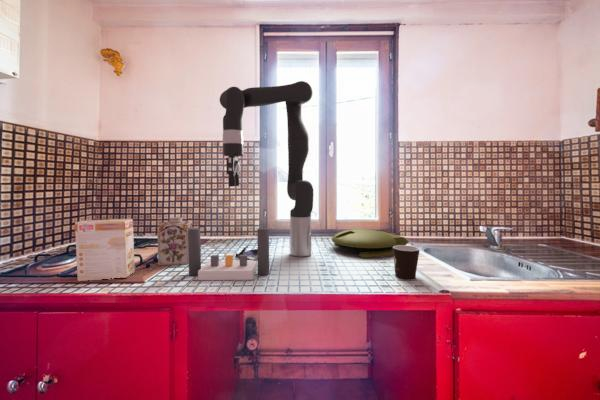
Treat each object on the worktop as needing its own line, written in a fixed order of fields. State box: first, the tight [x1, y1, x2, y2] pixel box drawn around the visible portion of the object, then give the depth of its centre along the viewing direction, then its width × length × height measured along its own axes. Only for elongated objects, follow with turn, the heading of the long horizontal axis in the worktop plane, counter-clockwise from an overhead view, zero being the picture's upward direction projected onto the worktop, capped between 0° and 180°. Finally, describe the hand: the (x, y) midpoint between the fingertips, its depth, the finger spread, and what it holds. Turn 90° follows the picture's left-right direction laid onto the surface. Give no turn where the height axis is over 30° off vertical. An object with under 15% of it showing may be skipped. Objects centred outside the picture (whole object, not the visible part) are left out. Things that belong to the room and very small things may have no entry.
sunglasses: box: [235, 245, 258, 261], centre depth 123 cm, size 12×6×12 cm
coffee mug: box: [392, 244, 420, 281], centre depth 98 cm, size 12×9×10 cm
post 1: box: [188, 227, 202, 277], centre depth 99 cm, size 4×4×16 cm
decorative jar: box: [156, 216, 194, 266], centre depth 116 cm, size 12×12×18 cm
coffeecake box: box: [74, 218, 136, 282], centre depth 96 cm, size 15×7×20 cm, turn 100°
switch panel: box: [197, 254, 258, 281], centre depth 100 cm, size 18×12×7 cm, turn 92°
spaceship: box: [331, 228, 410, 259], centre depth 138 cm, size 35×31×10 cm
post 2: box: [256, 227, 270, 277], centre depth 100 cm, size 4×4×16 cm
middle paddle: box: [224, 254, 234, 266], centre depth 100 cm, size 2×2×4 cm
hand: (234, 186), depth 108 cm, fingers open, 8 cm apart
